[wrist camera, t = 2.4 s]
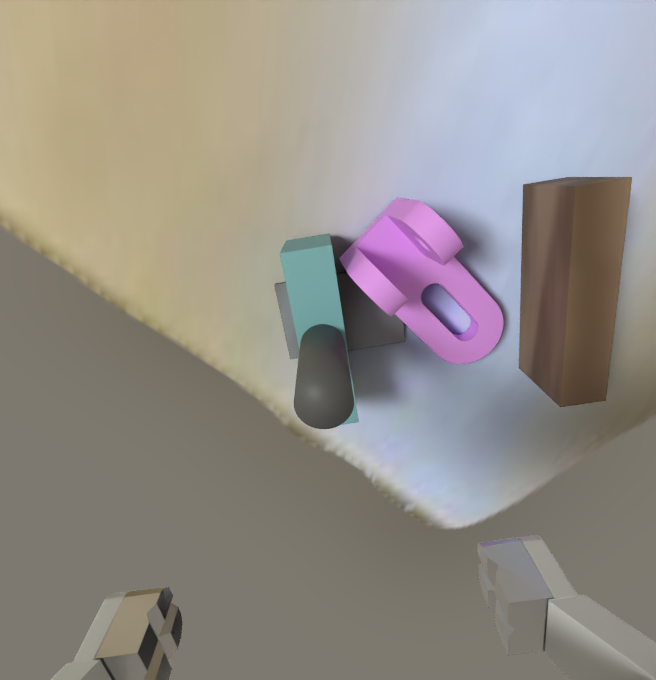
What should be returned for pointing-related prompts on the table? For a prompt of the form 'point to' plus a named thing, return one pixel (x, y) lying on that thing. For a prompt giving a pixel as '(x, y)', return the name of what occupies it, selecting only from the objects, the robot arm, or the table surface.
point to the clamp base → (537, 289)
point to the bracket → (422, 279)
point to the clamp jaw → (318, 334)
